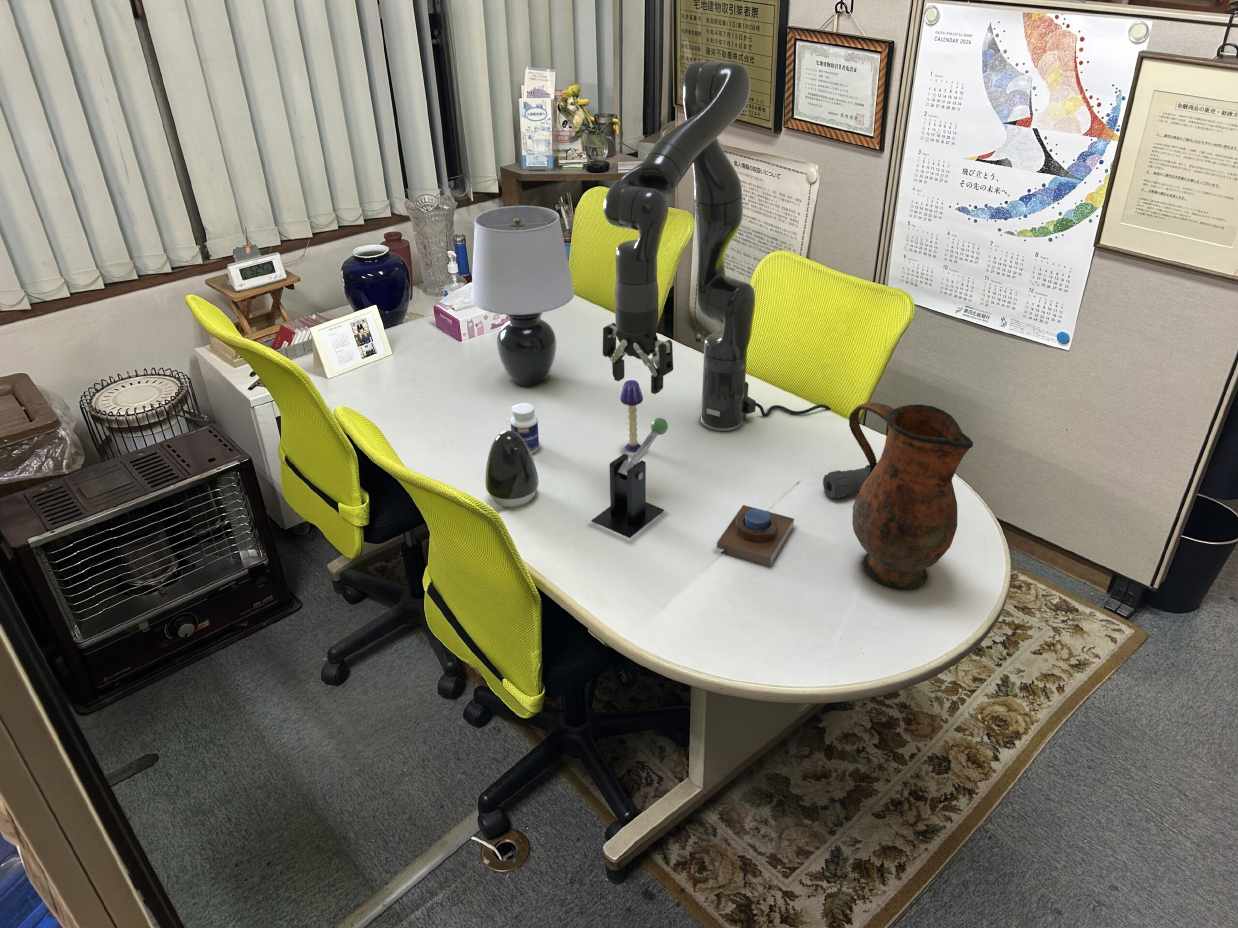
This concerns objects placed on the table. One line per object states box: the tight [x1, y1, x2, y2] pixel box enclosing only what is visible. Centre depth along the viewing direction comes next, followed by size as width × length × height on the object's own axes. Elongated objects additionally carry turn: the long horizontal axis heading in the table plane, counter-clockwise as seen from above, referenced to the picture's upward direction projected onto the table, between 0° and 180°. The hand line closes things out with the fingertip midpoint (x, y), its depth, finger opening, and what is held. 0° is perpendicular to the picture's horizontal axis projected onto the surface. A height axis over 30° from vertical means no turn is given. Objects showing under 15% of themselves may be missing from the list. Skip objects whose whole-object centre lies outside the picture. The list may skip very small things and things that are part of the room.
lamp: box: [470, 205, 575, 388], centre depth 208 cm, size 24×24×40 cm
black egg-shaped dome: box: [484, 430, 540, 508], centre depth 170 cm, size 10×10×15 cm
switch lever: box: [617, 417, 669, 481], centre depth 164 cm, size 14×3×3 cm, turn 142°
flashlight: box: [822, 464, 870, 499], centre depth 174 cm, size 15×5×5 cm, turn 108°
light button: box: [745, 508, 770, 530], centre depth 159 cm, size 4×4×2 cm
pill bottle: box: [510, 402, 540, 455], centre depth 188 cm, size 6×6×10 cm
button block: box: [716, 504, 795, 568], centre depth 161 cm, size 13×10×4 cm
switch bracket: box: [591, 453, 665, 539], centre depth 164 cm, size 11×9×13 cm
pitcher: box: [848, 402, 974, 591], centre depth 147 cm, size 17×21×30 cm
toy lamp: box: [619, 379, 644, 453], centre depth 184 cm, size 5×5×17 cm
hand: (637, 385), depth 163 cm, fingers open, 8 cm apart
